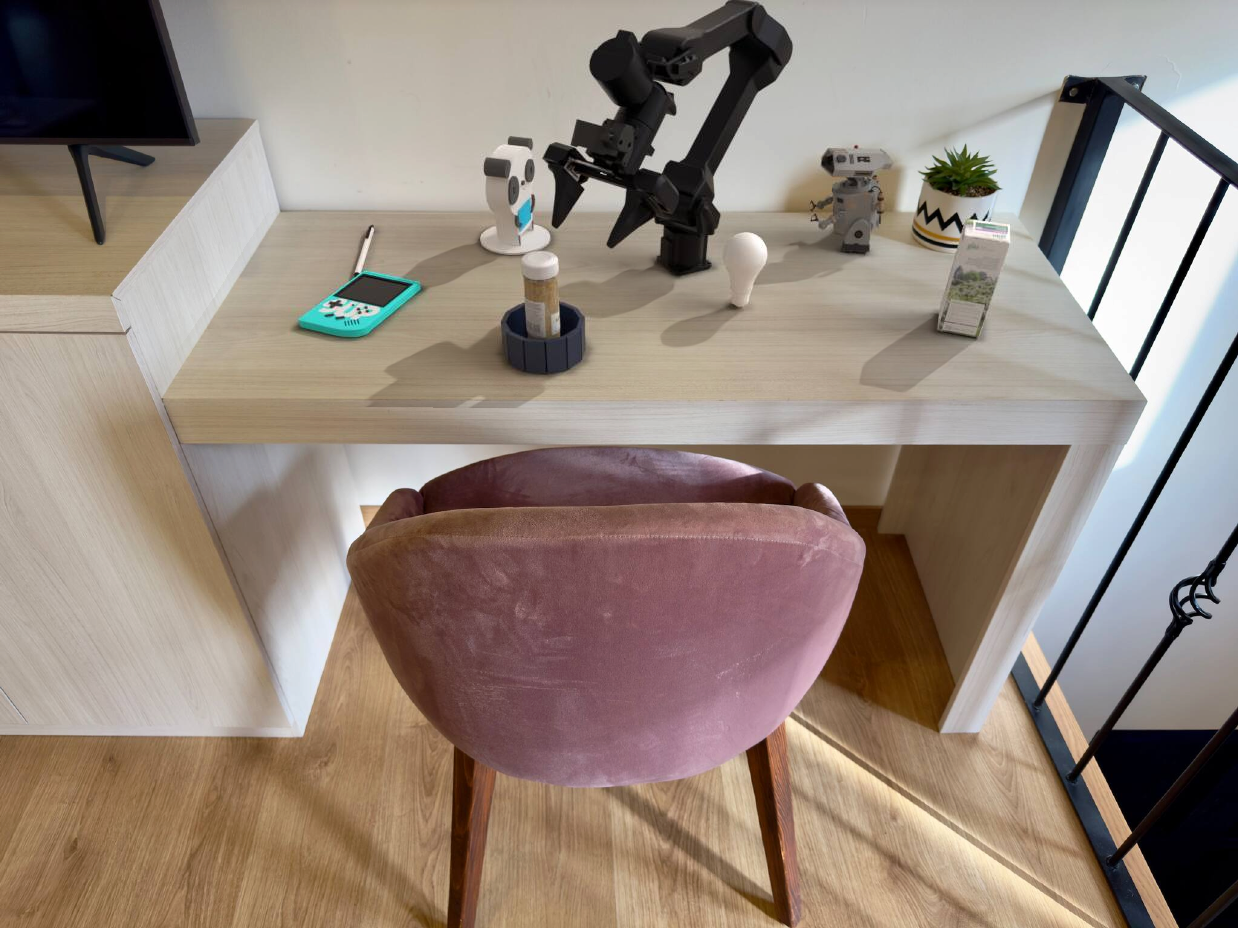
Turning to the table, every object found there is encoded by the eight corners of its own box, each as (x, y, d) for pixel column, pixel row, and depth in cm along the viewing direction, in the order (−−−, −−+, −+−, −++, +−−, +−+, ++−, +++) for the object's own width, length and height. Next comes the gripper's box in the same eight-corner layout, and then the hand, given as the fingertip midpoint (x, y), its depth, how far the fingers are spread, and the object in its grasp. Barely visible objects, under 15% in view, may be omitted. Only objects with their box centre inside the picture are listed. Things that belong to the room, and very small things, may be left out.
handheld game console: (297, 326, 118) (295, 318, 117) (364, 276, 129) (363, 268, 129) (358, 341, 115) (357, 332, 114) (422, 288, 127) (421, 280, 126)
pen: (375, 228, 142) (374, 221, 141) (358, 282, 128) (357, 276, 127) (370, 228, 142) (369, 222, 141) (352, 283, 127) (351, 276, 127)
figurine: (802, 227, 144) (816, 137, 135) (871, 231, 143) (890, 140, 134) (805, 251, 137) (820, 158, 128) (878, 255, 136) (898, 162, 127)
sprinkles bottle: (568, 354, 113) (564, 260, 104) (537, 364, 111) (532, 269, 102) (550, 338, 116) (546, 246, 107) (521, 348, 114) (514, 255, 105)
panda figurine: (534, 260, 134) (528, 166, 124) (467, 251, 136) (457, 157, 127) (559, 229, 143) (556, 138, 133) (496, 220, 145) (488, 131, 135)
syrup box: (980, 319, 121) (1011, 222, 112) (979, 340, 117) (1011, 240, 108) (938, 312, 123) (965, 215, 113) (936, 332, 118) (964, 234, 109)
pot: (541, 323, 119) (540, 292, 116) (600, 348, 114) (600, 317, 111) (487, 355, 113) (484, 323, 110) (547, 383, 108) (546, 351, 105)
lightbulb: (765, 301, 125) (775, 230, 118) (752, 320, 120) (762, 247, 113) (726, 292, 127) (733, 221, 120) (711, 310, 122) (718, 238, 115)
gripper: (548, 76, 107) (493, 189, 107) (670, 107, 98) (610, 230, 98) (589, 124, 117) (539, 227, 117) (703, 156, 108) (648, 267, 108)
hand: (580, 237), depth 110 cm, fingers open, 9 cm apart
